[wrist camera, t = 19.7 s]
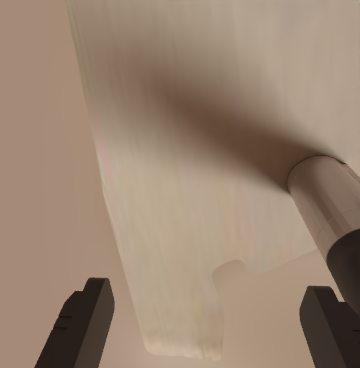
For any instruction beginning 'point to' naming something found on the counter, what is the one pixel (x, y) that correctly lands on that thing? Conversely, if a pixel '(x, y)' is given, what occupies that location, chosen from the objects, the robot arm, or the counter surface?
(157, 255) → the counter surface
